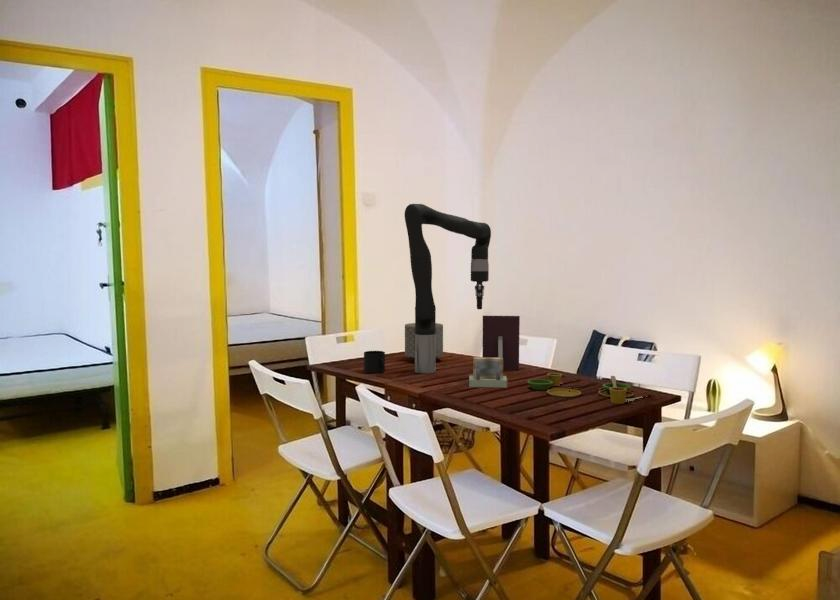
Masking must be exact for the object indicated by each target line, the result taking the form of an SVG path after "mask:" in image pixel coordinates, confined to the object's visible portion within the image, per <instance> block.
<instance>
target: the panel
mask: <svg viewBox="0 0 840 600" xmlns="http://www.w3.org/2000/svg"><path fill="white" fill-rule="evenodd" d="M472 358H473V359H472V360H473V361H472V362H473V363H472V369H473V370H472V375H473V378H474V379H476V369H480V379H496V370H497V369H499V370H500V379H503V376H504V370H503V358H495V357H482V356H481V357H480V356H477V357H475V356H474V357H472Z"/></svg>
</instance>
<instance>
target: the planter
mask: <svg viewBox="0 0 840 600" xmlns="http://www.w3.org/2000/svg"><path fill="white" fill-rule="evenodd" d="M404 356H405V357H408V358H409V359H411V360H413V361H414V362H415V322H412V323H411V322H410V323H405V324H404ZM443 356H444V324H442V323H438V322H437V323H436V360H437V359H439V358H440V357H443Z"/></svg>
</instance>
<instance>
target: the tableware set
mask: <svg viewBox="0 0 840 600" xmlns="http://www.w3.org/2000/svg"><path fill="white" fill-rule="evenodd" d="M546 377H547V379H543V378H532V379H528V380H527V384H528V385H529V387H530V388H531V390H534V391H546V393H547V394H548V395H550V396H552V397H557V398H576V397H580V396H581V394H582V391H580V390H577V389H574V388H573V389H572V388H550V387H553V386H558V387H560V386H561V385H560V384H562V383H561V382H562V378H563V374H562V373H559V372H549V373H547V374H546ZM610 381H611V382H609V383H603V384H602V388H605V389H604V390H599V391H598V392H597V393H598V394H599V395H600V396H601V395H602V396H601V397H604V398H608V397H610V398H609V399H610V402H611V404H615V405H624V404H626V403H625V402H627V400H628V402H627V403H630V402H629V401H632V402H634V401H636V400H635V399H639V398H643V397H642V396H638V397H634V396H635V393H634V392H633V391H630V389H631V386H630V384H626V383H621V382H620V383H618V382H617V378H616V376H615V375H611V376H610ZM569 391H570V392H569ZM606 391H607V393H608V394H603V392H606ZM626 392H628V393H630V394H631V395H627V396H626ZM631 396H632V397H631ZM645 396H646V397H647V398H648V396H647V395H645ZM626 397H630V398H626ZM625 400H626V401H625ZM639 400H640V399H639Z"/></svg>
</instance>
